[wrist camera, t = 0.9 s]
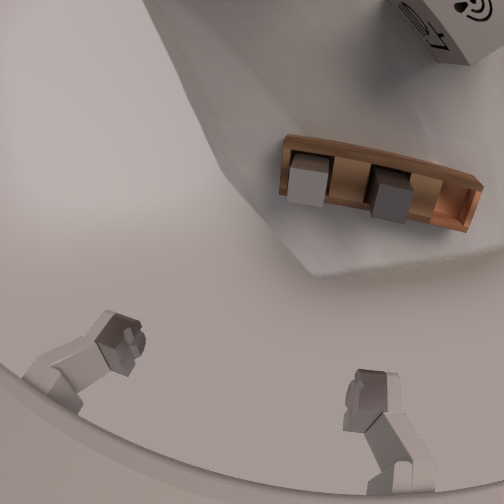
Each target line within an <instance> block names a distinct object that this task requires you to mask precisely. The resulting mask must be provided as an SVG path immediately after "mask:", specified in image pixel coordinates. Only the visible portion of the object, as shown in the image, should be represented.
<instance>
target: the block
mask: <svg viewBox="0 0 504 504" xmlns="http://www.w3.org/2000/svg"><path fill="white" fill-rule="evenodd" d="M413 195H414V190H413V188H412V186H411V184H410V182H409V180H408V178H407V177H406V175H405V173H404V171H403V170H399V169H394V168H390V167H386V166H381V165H376V164H372V168H371V173H370V178H369V182H368V187H367V196H368V201H369V206H370V212H371V217H375V218H379V219H384V220H389V221H394V222H399V223H403V224H405V221H406V218H407V215H408V212H409V209H410V205H411V202H412V199H413Z"/></svg>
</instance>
